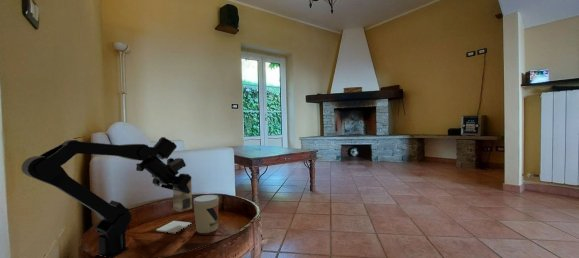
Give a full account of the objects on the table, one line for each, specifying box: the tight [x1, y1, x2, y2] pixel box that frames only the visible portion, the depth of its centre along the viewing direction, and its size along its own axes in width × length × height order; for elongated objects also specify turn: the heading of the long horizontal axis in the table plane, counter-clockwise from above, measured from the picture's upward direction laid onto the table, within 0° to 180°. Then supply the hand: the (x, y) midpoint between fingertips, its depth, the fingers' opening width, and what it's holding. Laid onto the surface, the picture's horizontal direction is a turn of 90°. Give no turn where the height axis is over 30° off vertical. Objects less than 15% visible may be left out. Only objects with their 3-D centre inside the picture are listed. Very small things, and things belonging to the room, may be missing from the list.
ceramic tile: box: [155, 220, 192, 234], centre depth 99 cm, size 9×9×1 cm
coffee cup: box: [192, 194, 220, 234], centre depth 96 cm, size 9×9×12 cm
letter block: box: [172, 179, 193, 213], centre depth 102 cm, size 5×5×13 cm
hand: (185, 191), depth 103 cm, fingers closed on letter block, 5 cm apart
